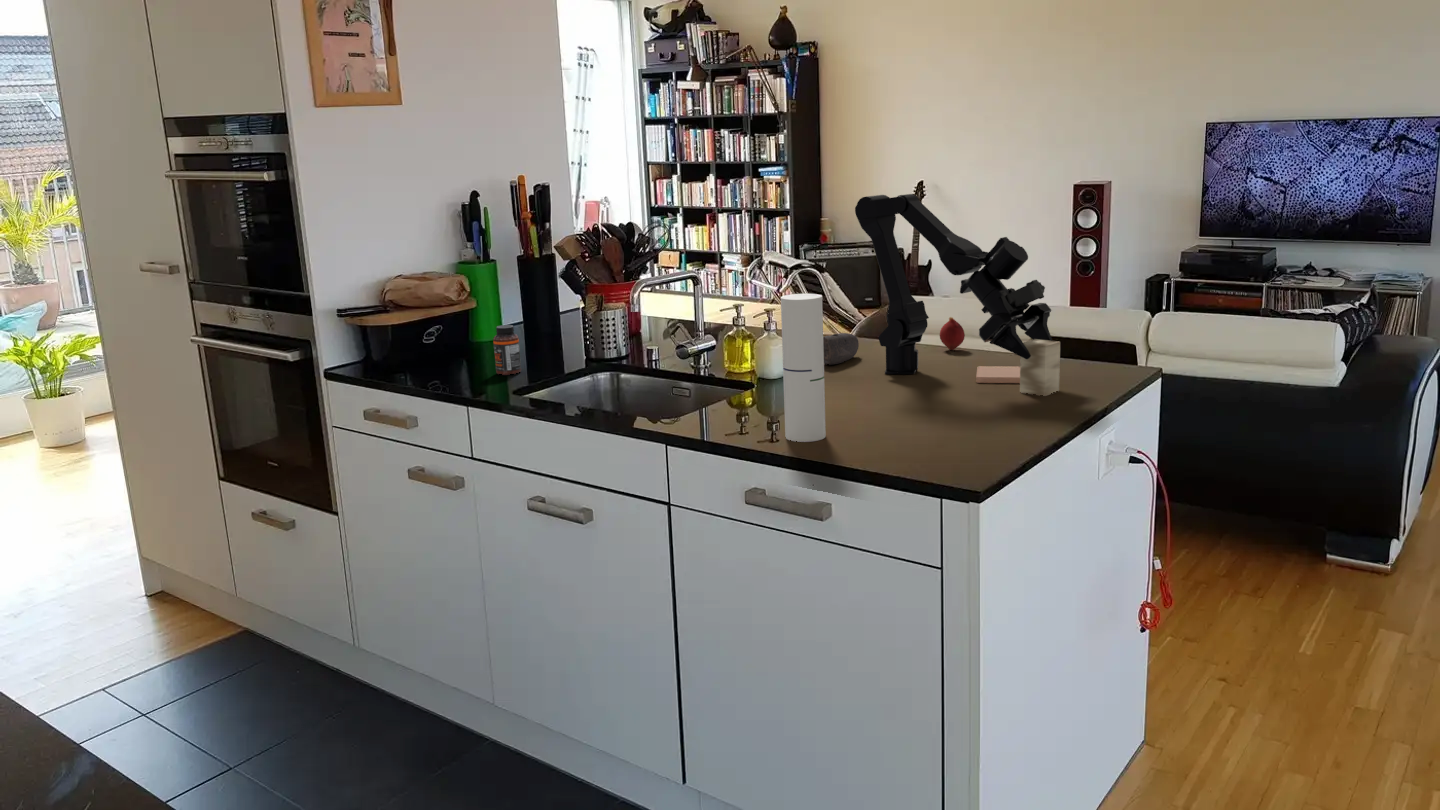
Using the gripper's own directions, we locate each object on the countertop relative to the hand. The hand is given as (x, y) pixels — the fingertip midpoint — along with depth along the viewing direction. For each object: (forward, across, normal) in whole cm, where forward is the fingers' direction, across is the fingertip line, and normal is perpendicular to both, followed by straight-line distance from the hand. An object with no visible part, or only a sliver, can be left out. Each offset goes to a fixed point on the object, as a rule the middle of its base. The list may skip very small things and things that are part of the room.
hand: (1041, 354), depth 222 cm
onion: (-22, +26, +33) cm, 48 cm away
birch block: (+5, 0, +6) cm, 8 cm away
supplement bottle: (-73, -52, +83) cm, 122 cm away
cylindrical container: (-6, -53, +16) cm, 56 cm away
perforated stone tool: (-32, +1, +43) cm, 54 cm away
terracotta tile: (-4, +7, +15) cm, 17 cm away
